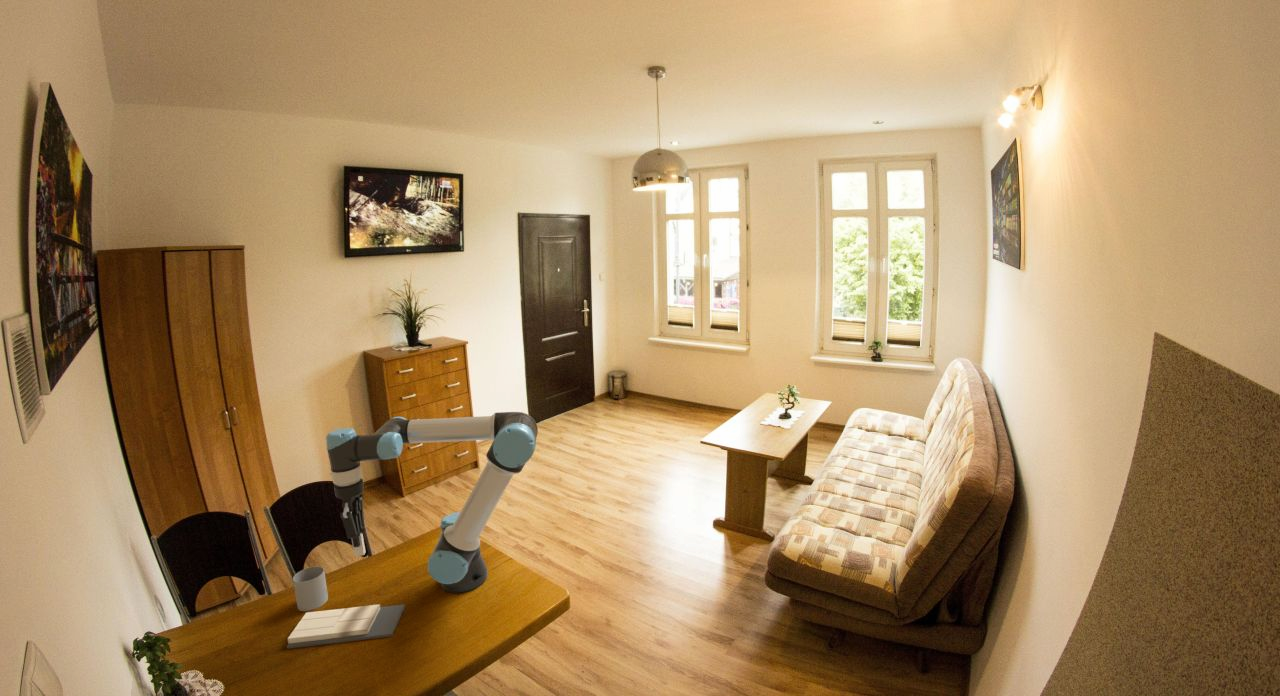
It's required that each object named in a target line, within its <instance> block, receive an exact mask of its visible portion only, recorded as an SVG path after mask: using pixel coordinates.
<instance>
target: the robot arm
mask: <svg viewBox="0 0 1280 696" xmlns="http://www.w3.org/2000/svg"><path fill="white" fill-rule="evenodd" d="M538 429H539V428H538V425H537V422H536V420H535V419H534V418H533V417H532V416H531V415H529V414H528V413H525V412H522V411H521V412H520V411H508V412H506V411H504V412H503V411H502V412H494V413H493V414H492V415H486V416H465V417H464V416H463V417H462V416H461V417H445V418H444V417H441V418H420V419H419V418H418V419H407V418H405V417H403V416H395V417H392V418H390V419H388V420H386V422H384V424H383V425H381V426H380V428H378V429H377V430H376V431H375V432H374V433H372V434H371V433H370V434H361V435H360V434H359V435H357V433H356V431H355V429H354V428H351V427H344V428H338V429H334V430H332V431H330V432H329V433H327V435H326V437H325V438H326V439H325V440H326V451H327V455H328V459H329V465H330V471H331V472H330V473H329V475H330V476H331V478H332V483H333V484H334V485H333V489H334V496H335V497H336V498H337V499H340V500H342V503H341V506H342V507H341V508H342V509H343V511H342V512H339V516H340V518H341V520H342V524H343V527H344V529H345V534H346V538H347V539H351V543H352V550H353V556H354V557H360V556H365V554H366V553H367V552H366V546H365V539H364V535H363V534H364V532H366V530H367V529H366V528H364V527H365V516H364V514H365V513H364V503H363V502H364V494H363V492H364V491H365V486H364V485H365V484H364V480H363V472H362V466H361V465H362V464H361V462H367V461H368V462H369V461H378V460H381V461H382V460H385V461H386V460H389V459H391V460H392V459H397V458H399V456H401V454H402V451H403V449H404V448H403V445H406V444H407V445H409V444H424V443H426V444H427V443H445V442H448V443H449V442H467V441H468V442H469V441H470V442H471V441H489V440H490V441H492V442H491V444H490V447H489V449H488V451H487V453H486V454H485V457H486V459H487V463H486V464H485V467H484V469H483V470H482V472H481V474H480V476H479V477H478V479H477V481H476V482H475V485H474V486H473V488H472V489H471V492H470V493H469V495H468V497H467V500H466V501H465V503H464V505H463V507H462V508H461V510H460V511H458V512H453V513H450V514H447V515H446V516H443V518H442V519H441V521H440V527H439V528H440V530H441V532H440V536H439V538H438V540H437V542H436V544H435V547H434V548H433V550H432V553H431V555H430V556H429V557H428V562H427V566H426V567H427V568H426V569H427V572H428V574H429V575H430V577H431V578H432V579H433V580H434V582H435V581H436V582H437V583H439V584H440V586H441V588H442V589H443V590H444V591H446V592H448V593H454V594H455V593H456V594H457V593H465V592H469V591H472V590H474V589H476V588H478V587H480V586H481V585H482V584H483V583H485V581H486V580H487V578H488V575H489V573H488V567H487V564H486V562H485V560H484V559H483V555H482V553H481V540H480V536H481V534H482V532H483V530H484V528H485V526H486V525H487V523H488V521H489V519H490V518H491V515H492V514H493V512H494V510H495V509H496V507H497V505H498V503H499V501H500V500H501V498H502V496H503V495H504V494H505V493H504V492H505V491H506V489H507V487H508V486H509V483H510V482H511V480H512V478H513V476H514V475H516V474H517V475H518V474H519V473H521V472H522V471H523V469H524V467H525V465H526V463H528V462H529V460H530V459H531V458H532V457H533V455H534V453H535V450H536V445H537V443H536V441H537V437H538V433H539V431H538Z"/></svg>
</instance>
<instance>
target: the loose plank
mask: <svg viewBox="0 0 1280 696" xmlns="http://www.w3.org/2000/svg"><path fill="white" fill-rule="evenodd" d="M380 607H381V604H380V603H379V604H377V603H376V604H371V605H370V604H369V605H363V606H355V607H347V608H345V610H344V611H343V613H342V615H341V616H340V618H339V620H338V621H337V623H336V624H335V626H334V628H333V629H332V631H331V633H330V638H339V637H347V636H355V635H363V634H368V632H369V630H370V628H371V626H372V624H373V622H374V620H375V618H376V616H377V615H378V613H379V611H380Z"/></svg>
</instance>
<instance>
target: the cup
mask: <svg viewBox="0 0 1280 696" xmlns="http://www.w3.org/2000/svg"><path fill="white" fill-rule="evenodd" d="M292 580H293V587H294V594H295V599H296V606H297V610H298V611H301V612H311V611H313V610H317V609H318V608H320V607H322V606H323V605H324V604H326V602H328V600H329V594H328V588H327V581H326V573H325V569H324V567H323V566H320V565H316V566H314V565H313V566H310V567H306V568H304V569H302V570H300V571H298V572H297V573H296V574H294V576H293V577H292Z"/></svg>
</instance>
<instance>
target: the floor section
mask: <svg viewBox="0 0 1280 696" xmlns="http://www.w3.org/2000/svg"><path fill="white" fill-rule="evenodd" d="M405 608H406V605H405V604H397V605H387V606H380V611H379V613H378V615H377V616H376V618H375V620H374V622H373V624H372V626H371V628H370V630H369V632H368V634H363V635H355V636H347V637H339V638H330V633H331V631H332V629H333V628H334V626H335V624H336V623H337V621H338V620H339V618H340V616H341V615H342V613H343V611H344V610H345V608H337V609H336V608H335V609H327V610H319V611H306V612H305V614H304V615H303V616H302V618H301V619H300V621H299V622H298V623H297V625H296V626H295V628H294V629H293V630H292V632H291V633H290V635H289V636H288V637H287V643H288V644H287V645H286V649H288V650H289V649H294V648H295V649H296V648H303V647H304V648H305V647H306V648H307V647H313V646H322V645H328V644H329V645H330V644H338V643H346V642H355V641H362V640H371V639H380V638H388V637H389V638H391V637H393V636H394V633H395V631H396V628H397V626H398V625H399V621H400V619H401V617H402V614H403V612H404V610H405Z"/></svg>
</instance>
